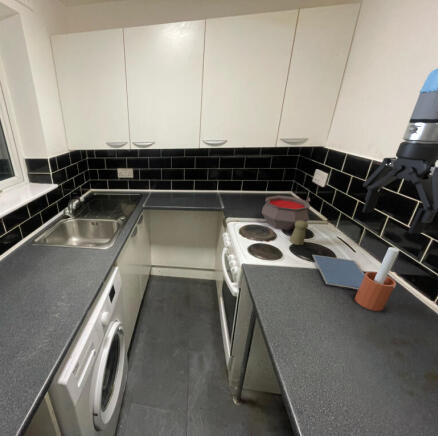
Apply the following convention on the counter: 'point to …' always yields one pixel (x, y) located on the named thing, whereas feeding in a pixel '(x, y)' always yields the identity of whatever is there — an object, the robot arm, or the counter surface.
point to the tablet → (339, 272)
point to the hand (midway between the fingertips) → (388, 221)
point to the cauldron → (285, 211)
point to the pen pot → (374, 292)
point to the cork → (299, 232)
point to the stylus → (386, 265)
